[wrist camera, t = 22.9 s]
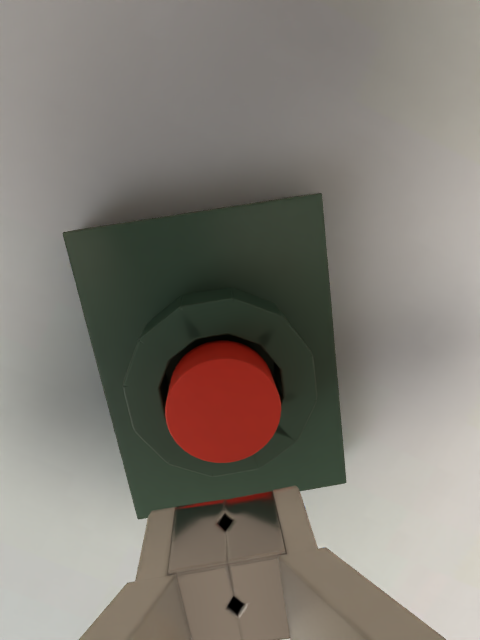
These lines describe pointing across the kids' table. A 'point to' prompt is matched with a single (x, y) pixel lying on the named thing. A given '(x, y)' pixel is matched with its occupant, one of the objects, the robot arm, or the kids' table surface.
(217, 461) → the red button
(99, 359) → the button block
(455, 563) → the kids' table surface
